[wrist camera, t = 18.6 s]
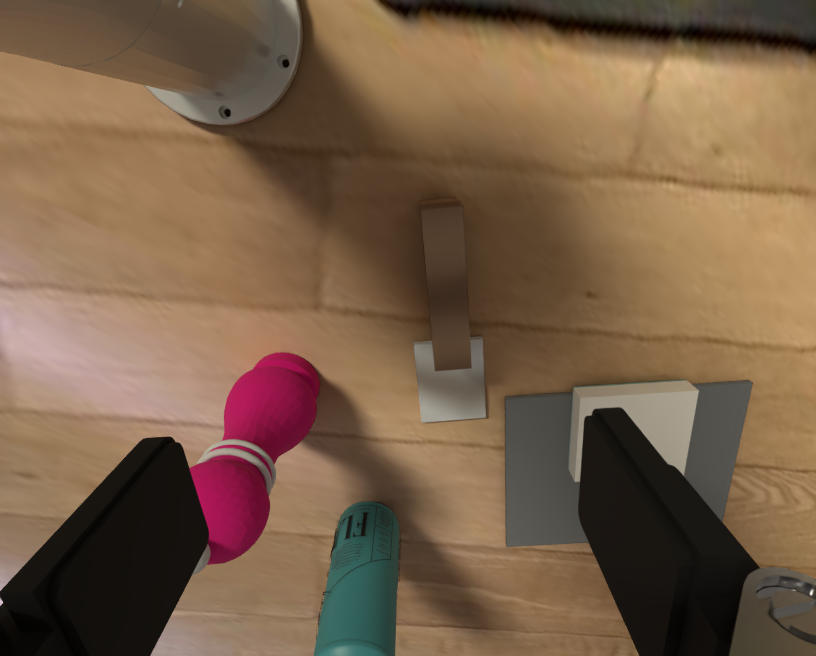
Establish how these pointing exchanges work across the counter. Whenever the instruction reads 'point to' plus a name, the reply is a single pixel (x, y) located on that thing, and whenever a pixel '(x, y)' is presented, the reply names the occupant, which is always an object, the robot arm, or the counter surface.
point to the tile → (639, 416)
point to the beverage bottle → (361, 585)
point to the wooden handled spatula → (448, 322)
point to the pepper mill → (252, 452)
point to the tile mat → (558, 493)
